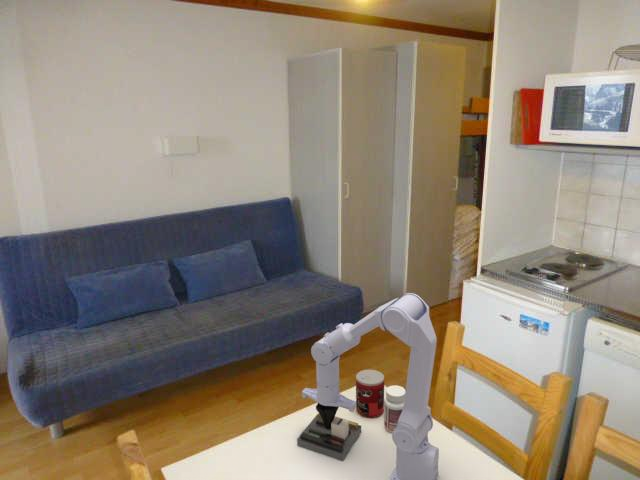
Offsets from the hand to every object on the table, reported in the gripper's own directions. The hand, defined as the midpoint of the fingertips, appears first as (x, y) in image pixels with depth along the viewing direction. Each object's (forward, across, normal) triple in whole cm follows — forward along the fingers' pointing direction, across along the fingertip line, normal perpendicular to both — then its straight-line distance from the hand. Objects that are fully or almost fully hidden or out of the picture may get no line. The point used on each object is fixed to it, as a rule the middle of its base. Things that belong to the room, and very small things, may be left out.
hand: (329, 426), depth 123 cm
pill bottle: (+4, -14, -12) cm, 19 cm away
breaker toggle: (+2, -3, 0) cm, 4 cm away
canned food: (+4, -5, -16) cm, 17 cm away
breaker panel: (+4, 0, 0) cm, 4 cm away
